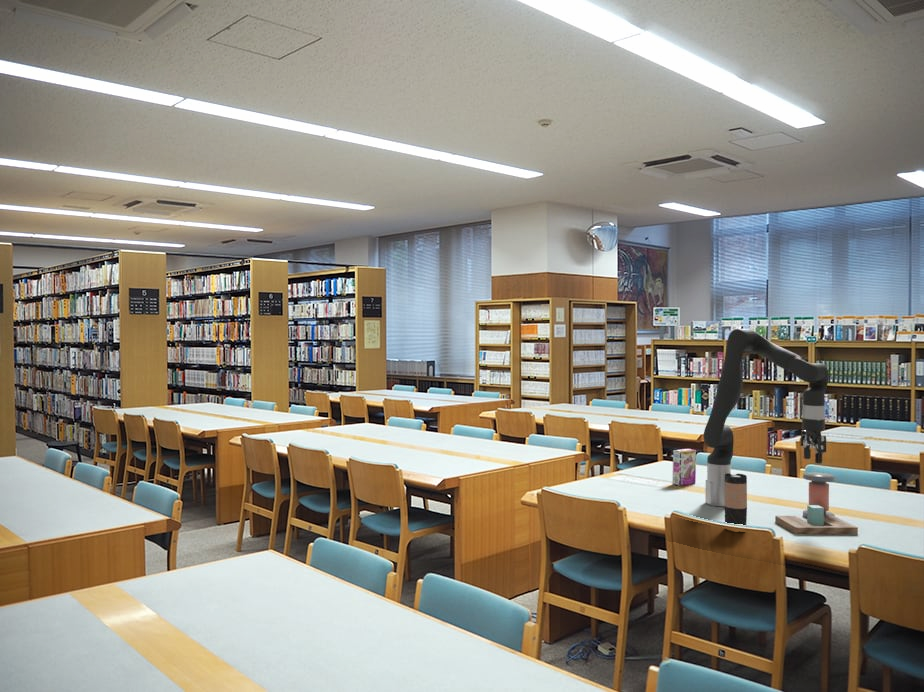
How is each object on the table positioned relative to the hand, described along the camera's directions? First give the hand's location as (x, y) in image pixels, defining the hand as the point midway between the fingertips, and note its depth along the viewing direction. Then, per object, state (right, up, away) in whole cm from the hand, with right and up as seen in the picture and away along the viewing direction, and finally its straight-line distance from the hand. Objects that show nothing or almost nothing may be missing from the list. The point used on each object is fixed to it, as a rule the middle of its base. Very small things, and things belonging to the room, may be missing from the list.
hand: (812, 461), depth 252 cm
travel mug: (-30, -25, -3) cm, 39 cm away
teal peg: (0, -24, -2) cm, 24 cm away
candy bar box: (-24, -24, +73) cm, 81 cm away
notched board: (0, -24, -2) cm, 24 cm away
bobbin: (+9, -24, +13) cm, 29 cm away
